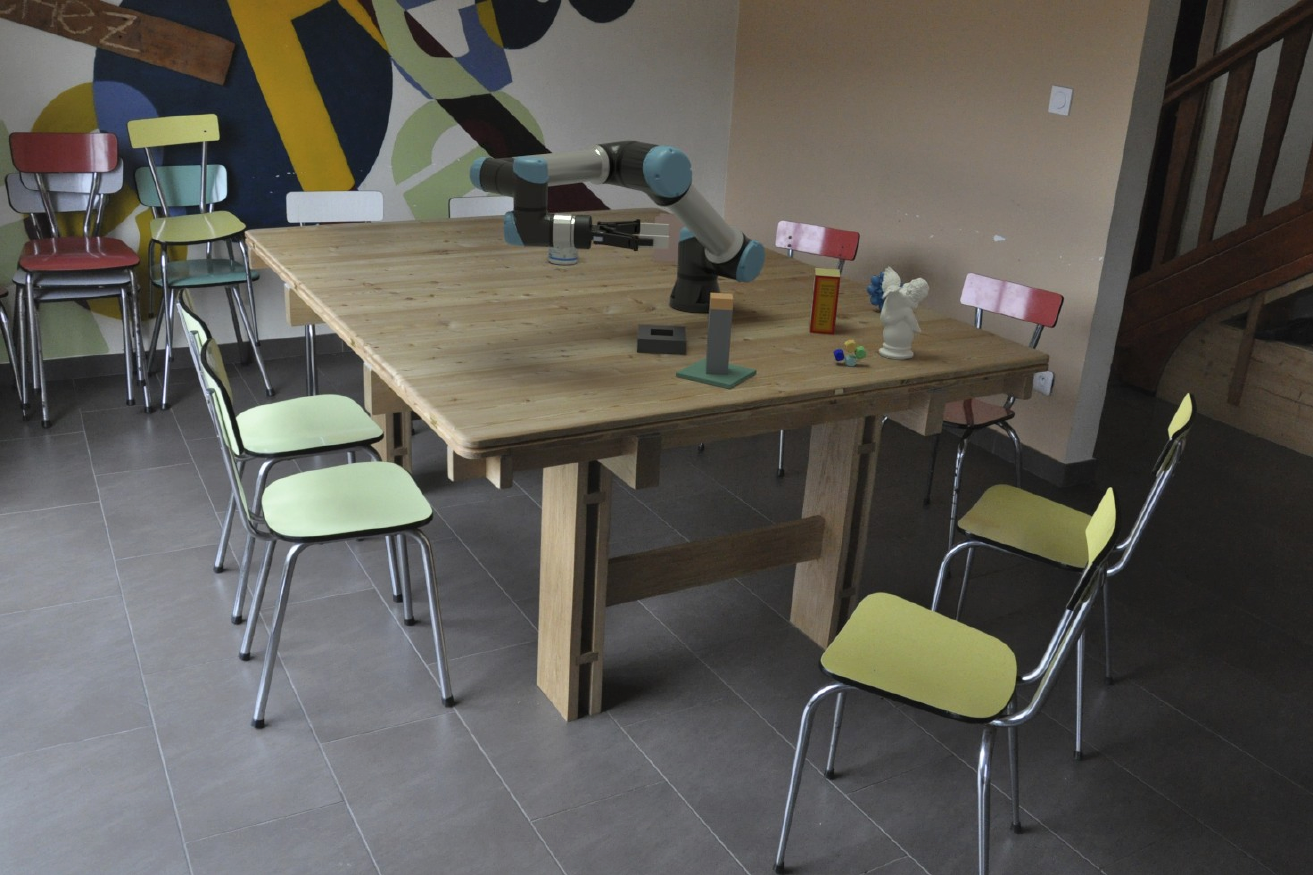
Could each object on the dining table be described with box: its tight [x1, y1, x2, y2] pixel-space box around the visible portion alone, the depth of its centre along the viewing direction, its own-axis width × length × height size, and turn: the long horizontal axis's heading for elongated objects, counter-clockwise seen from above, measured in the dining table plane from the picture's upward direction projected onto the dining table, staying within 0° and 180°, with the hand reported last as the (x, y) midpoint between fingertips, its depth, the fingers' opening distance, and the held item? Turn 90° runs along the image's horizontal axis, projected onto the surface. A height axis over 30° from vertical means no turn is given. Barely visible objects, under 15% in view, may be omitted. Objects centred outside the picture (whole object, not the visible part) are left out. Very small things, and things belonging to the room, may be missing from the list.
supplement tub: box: [548, 215, 579, 266], centre depth 359 cm, size 10×10×15 cm
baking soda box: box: [808, 267, 841, 335], centre depth 299 cm, size 10×6×16 cm
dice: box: [833, 339, 867, 367], centre depth 272 cm, size 8×3×6 cm, turn 89°
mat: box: [675, 357, 757, 390], centre depth 260 cm, size 14×14×1 cm
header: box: [636, 323, 687, 355], centre depth 279 cm, size 13×12×4 cm
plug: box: [705, 292, 734, 375], centre depth 257 cm, size 5×5×18 cm
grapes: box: [866, 270, 905, 312], centre depth 319 cm, size 12×7×12 cm, turn 89°
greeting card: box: [652, 212, 685, 263], centre depth 368 cm, size 11×7×15 cm, turn 59°
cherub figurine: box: [878, 265, 930, 361], centre depth 278 cm, size 12×12×22 cm
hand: (668, 236), depth 249 cm, fingers open, 13 cm apart
